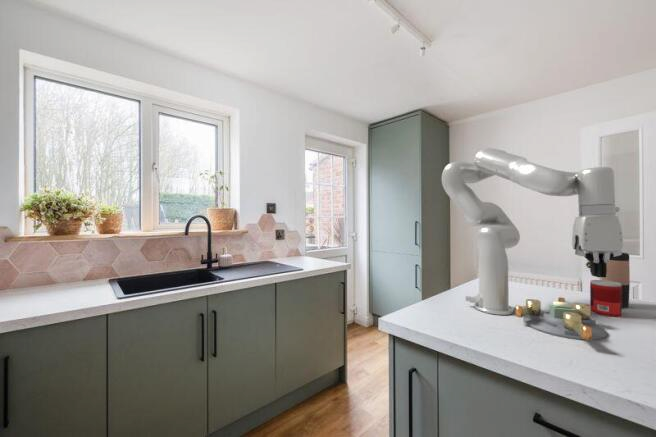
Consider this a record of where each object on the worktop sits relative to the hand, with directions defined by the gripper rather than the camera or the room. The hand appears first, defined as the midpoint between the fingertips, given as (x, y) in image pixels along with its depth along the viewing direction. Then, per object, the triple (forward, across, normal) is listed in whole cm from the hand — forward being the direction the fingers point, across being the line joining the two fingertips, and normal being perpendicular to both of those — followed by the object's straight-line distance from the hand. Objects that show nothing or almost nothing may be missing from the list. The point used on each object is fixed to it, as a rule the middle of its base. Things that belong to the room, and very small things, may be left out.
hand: (598, 276), depth 80 cm
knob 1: (+15, +14, -11) cm, 23 cm away
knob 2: (+15, -2, -15) cm, 21 cm away
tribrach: (+17, +5, -8) cm, 20 cm away
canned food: (+18, -17, -24) cm, 34 cm away
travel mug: (+18, -27, -34) cm, 47 cm away
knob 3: (+15, +7, +3) cm, 17 cm away
